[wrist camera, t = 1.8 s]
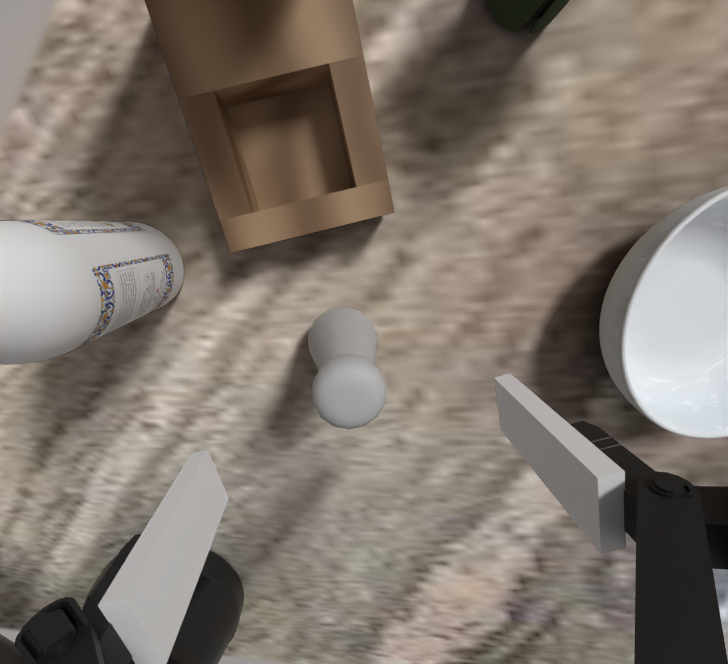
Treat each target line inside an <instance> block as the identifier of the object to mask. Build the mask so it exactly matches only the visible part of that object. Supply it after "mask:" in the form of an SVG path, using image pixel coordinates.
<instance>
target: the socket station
mask: <svg viewBox="0 0 728 664" xmlns="http://www.w3.org/2000/svg"><path fill="white" fill-rule="evenodd" d="M145 3H146V6H147V9H148V12H149V15H150V18H151V20H152V23H153V26H154V29H155V32H156V35H157V38H158V41H159V44H160V47H161V50H162V53H163V56H164V59H165V61H166V64H167V67H168V70H169V73H170V76H171V79H172V82H173V85H174V88H175V91H176V94H177V97H178V100H179V103H180V105H181V108H182V111H183V114H184V117H185V120H186V123H187V126H188V129H189V132H190V135H191V138H192V141H193V144H194V146H195V149H196V152H197V155H198V158H199V161H200V164H201V167H202V170H203V173H204V176H205V179H206V182H207V185H208V187H209V190H210V193H211V196H212V199H213V202H214V205H215V208H216V211H217V214H218V217H219V220H220V223H221V226H222V229H223V231H224V234H225V237H226V240H227V243H228V246H229V249H230V252H231V253H232V252H236V251H241V250H245V249H249V248H253V247H257V246H261V245H265V244H269V243H273V242H277V241H281V240H285V239H289V238H293V237H297V236H301V235H305V234H309V233H314V232H318V231H322V230H326V229H330V228H334V227H338V226H342V225H346V224H350V223H354V222H358V221H362V220H366V219H370V218H374V217H378V216H382V215H387V214H391V213H395V212H394V207H393V202H392V197H391V192H390V187H389V182H388V177H387V172H386V167H385V162H384V157H383V152H382V147H381V142H380V137H379V132H378V126H377V121H376V116H375V111H374V106H373V101H372V96H371V91H370V86H369V81H368V76H367V71H366V66H365V61H364V56H363V51H362V46H361V41H360V36H359V31H358V25H357V20H356V15H355V10H354V5H353V0H145Z"/></svg>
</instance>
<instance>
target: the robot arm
mask: <svg viewBox="0 0 728 664" xmlns="http://www.w3.org/2000/svg"><path fill="white" fill-rule="evenodd" d="M494 382H495V390H496V397H497V404H498V412H499V419H500V427H501V431H502V432H503V433H504V434H505V435H506V437H507V438H508V439H509V440H510V442H511V443H512V444H513V445H514V447H515V448H516V449H517V450H518V452H519V453H520V454H521V455H522V457H523V458H524V459H525V460H526V461H527V463H528V464H529V465H530V466H531V468H532V469H533V470H534V471H535V473H536V474H537V475H538V476H539V478H540V479H541V480H542V481H543V483H544V484H545V485H546V486H547V488H548V489H549V490H550V491H551V492H552V494H553V495H554V496H555V497H556V499H557V500H558V501H559V502H560V504H561V505H562V506H563V507H564V509H565V510H566V511H567V512H568V514H569V515H570V516H571V517H572V518H573V520H574V521H575V522H576V523H577V525H578V526H579V527H580V528H581V530H582V531H583V532H584V533H585V535H586V536H587V537H588V538H589V540H590V541H591V542H592V543H593V545H594V546H595V547H596V548H597V549H598V551H599V552H600V553H605V552H609V551H613V550H616V549H620V548H624V547H626V532H627V533H628V534H629V535H630V537H631V538H632V539H633V540H634V541H635V542H636V597H635V664H728V661H727V655H726V649H725V642H724V636H723V630H722V624H721V618H720V612H719V606H718V600H717V594H716V588H715V582H714V576H713V570H712V568H714V569H728V487H713V486H694V485H692V484H691V483H690V482H689V481H687V480H685V479H683V478H681V477H679V476H677V475H673V474H670V473H666V472H656V471H654V470H653V469H652V468H650V467H649V466H648V465H647V464H645V463H644V462H643V461H641V460H640V459H639V458H638V457H636V456H635V455H634V454H632V453H631V452H630V451H628V450H627V449H626V448H625V447H623V446H622V445H621V446H620V444H619V443H618V442H617V441H616V440H614V439H613V438H610V436H609V435H608V434H607V433H605V432H604V431H603V430H601V429H600V428H599V427H597V426H594V425H592V424H589V423H587V422H584V421H581V422H577V423H573V424H569V423H568V422H567V421H565V420H564V419H563V418H562V417H561V416H560V415H558V414H557V413H556V412H555V411H554V410H553V409H551V408H550V407H549V406H548V405H547V404H546V403H544V402H543V401H542V400H541V399H540V398H539V397H537V396H536V395H535V394H534V393H533V392H531V391H530V390H529V389H528V388H527V387H526V386H524V385H523V384H522V383H521V382H520V381H519V380H517V379H516V378H515V377H514V376H513V375H512V374H507V375H503V376H499V377H495V378H494ZM228 500H229V497H228V495H227V493H226V491H225V488H224V486H223V484H222V481H221V479H220V477H219V474H218V472H217V470H216V467H215V465H214V463H213V461H212V458H211V456H210V454H209V451H208V450H204V451H200V452H196V453H192V454H190V456H189V458H188V459H187V461H186V463H185V464H184V466H183V467H182V469H181V471H180V472H179V474H178V476H177V477H176V479H175V480H174V482H173V484H172V485H171V487H170V489H169V490H168V492H167V494H166V495H165V497H164V498H163V500H162V502H161V503H160V505H159V507H158V508H157V510H156V511H155V513H154V515H153V516H152V518H151V520H150V521H149V523H148V524H147V526H146V528H145V529H144V531H143V533H142V534H138V535H135V536H134V537H133V538H132V539H131V540H130V541H129V542H128V543H127V544H126V545H125V546H124V547H123V548H122V549H121V551H120V552H119V554H118V555H117V557H115V558H114V559H113V560H112V561H111V562H110V563H109V564H108V565H107V566H106V567H105V568H104V570H103V571H102V573H101V574H100V576H99V577H98V579H97V580H96V582H95V583H94V585H93V586H92V588H91V589H90V591H89V593H88V595H87V597H86V600H85V603H84V606H83V609H82V610H81V608H80V607H79V605H78V604H77V602H76V601H75V600H74V598H72V597H65V598H62V599H59V600H56V601H55V602H53V603H51V604H49V605H48V606H46V607H44V608H43V609H42V610H41V611H39V612H38V613H37V614H36V615H34V616H33V617H32V618H31V619H30V620H29V621H28V622H27V623H26V625H25V626H24V627H23V628H22V630H21V631H20V633H19V634H18V635H17V637H16V640H15V643H14V642H12V641H10V640H9V639H7V638H6V637H4V636H2V635H1V634H0V664H218V663H219V661H220V659H221V657H222V655H223V653H224V651H225V649H226V647H227V645H228V644H229V642H230V641H231V639H232V638H233V636H234V634H235V632H236V629H237V627H238V623H239V619H240V615H241V611H242V606H243V601H244V591H243V586H242V583H241V580H240V578H239V576H238V575H237V573H236V572H235V570H234V569H233V568H232V567H231V566H230V565H229V564H228V563H227V562H226V561H225V560H224V559H222V558H221V557H220V556H218V555H216V554H215V553H213V552H211V551H209V550H210V547H211V545H212V542H213V539H214V537H215V534H216V531H217V529H218V526H219V523H220V521H221V518H222V515H223V513H224V510H225V507H226V505H227V502H228Z"/></svg>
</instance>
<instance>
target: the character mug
mask: <svg viewBox="0 0 728 664" xmlns="http://www.w3.org/2000/svg"><path fill="white" fill-rule="evenodd" d="M568 1H569V0H487V4H488V6H489V7H490V9H491V11H492V13H493V15H494V17H495V19H496V20H497V22H498V23H499V24H501V25H502V26H504V27H505V28H507V29H508V30H510V31H511V32H518V31H519V30H520V29H521V28H522V26H523V25H524V24H525V23H526V22H527V21H532V20H535V19H538V18H541V19H540V20H539V21H538V22H537V23H536V25H535V26H534V27H533V28H532V29H531V31H530V32H529V33H534V32H536V31H537V30H539V29H541V28H543V27H544V26H546V25H548V24H549V23H550V22H551V21H552V20H553V19H554V18H555V17H556V16H557V14H558V13H559V12H560V11H561V10H562V9H563V8H564V7H565V5H566V4H567V3H568Z"/></svg>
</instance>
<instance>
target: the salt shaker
mask: <svg viewBox="0 0 728 664" xmlns="http://www.w3.org/2000/svg"><path fill="white" fill-rule="evenodd" d="M377 340H378V334H377V332H376V330H375V327H374V325H373V323H372V321H371V320H370V319H369V318H368V317H366V316H365V315H364V314H363V313H361V312H360V311H359V310H356V309H351V308H347V307H340V308H335V309H330V310H327V311H326V312H325V313H324V314H322V315H321V316H320V317H319V318H317V319H316V320H315V322H314V324H313V326H312V328H311V330H310V331H309V333H308V346H309V351H310V353H311V356H312V358H313V360H314V362H315V364H316V366H317V368H318V373H317V375H316V376H315V378H314V380H313V384H312V391H313V403H314V406H315V407H316V409H317V411H318V413H319V415H320V417H321V418H322V419H324V420H325V421H327V422H328V423H330V424H331V425H333V426H335V427H340V428H345V429H353V428H357V427H361V426H365V425H366V424H368V423H369V422H371V421H372V420H374V419H375V418H376V417H378V415H379V413H380V411H381V410H382V408H383V406H384V404H385V392H386V383H385V381H384V378H383V376H382V374H381V372H380V370H379V368H378V366H377V365H375V358H376V353H377Z"/></svg>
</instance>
